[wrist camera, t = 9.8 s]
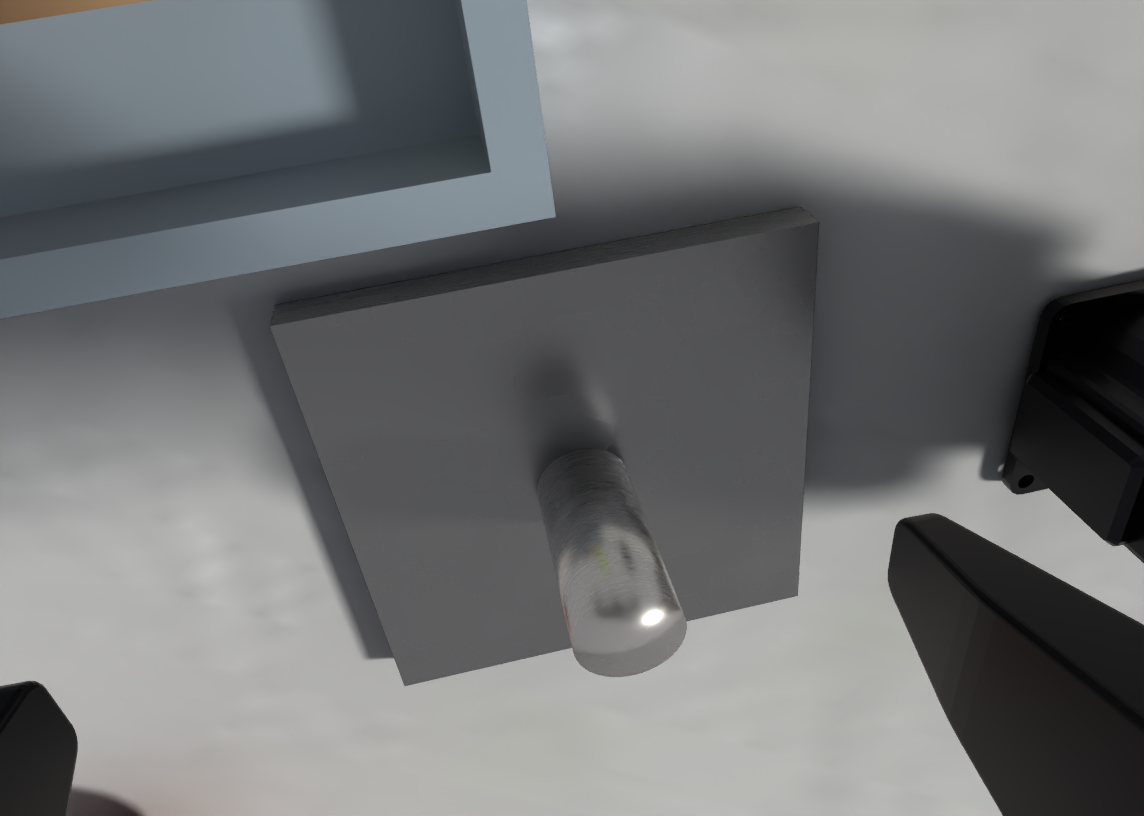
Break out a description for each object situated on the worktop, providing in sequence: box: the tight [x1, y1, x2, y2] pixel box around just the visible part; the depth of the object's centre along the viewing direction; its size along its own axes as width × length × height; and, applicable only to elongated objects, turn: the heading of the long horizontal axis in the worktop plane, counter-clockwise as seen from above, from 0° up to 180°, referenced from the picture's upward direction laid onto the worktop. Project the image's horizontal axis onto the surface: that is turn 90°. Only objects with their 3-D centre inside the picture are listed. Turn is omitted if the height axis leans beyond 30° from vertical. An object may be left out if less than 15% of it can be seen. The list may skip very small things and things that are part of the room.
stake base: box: [270, 207, 819, 686], centre depth 19 cm, size 12×12×6 cm
